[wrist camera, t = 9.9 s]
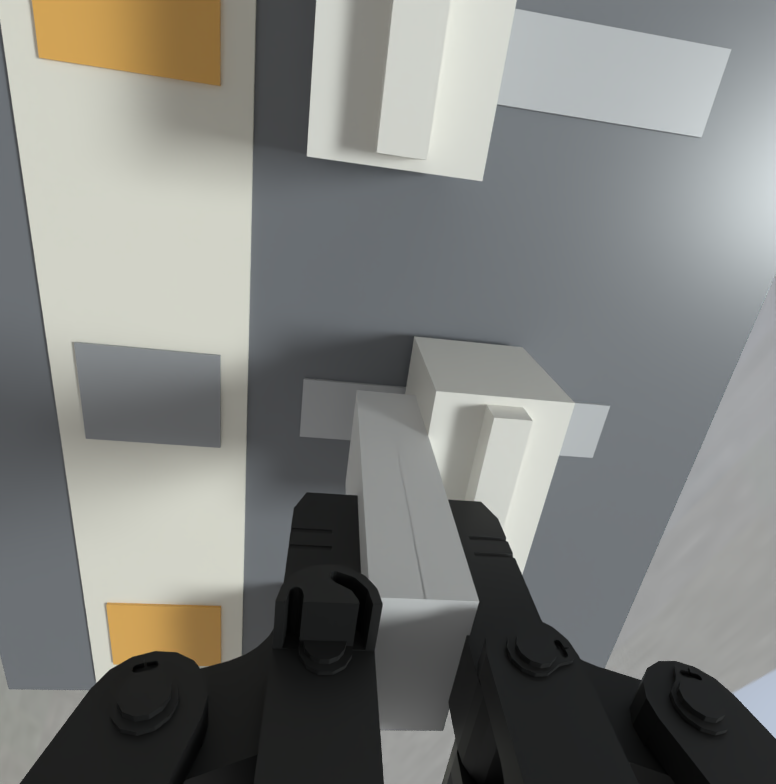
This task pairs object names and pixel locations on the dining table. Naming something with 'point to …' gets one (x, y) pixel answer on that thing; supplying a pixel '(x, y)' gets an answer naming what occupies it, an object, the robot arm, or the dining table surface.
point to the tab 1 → (408, 82)
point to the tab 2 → (491, 428)
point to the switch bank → (347, 300)
